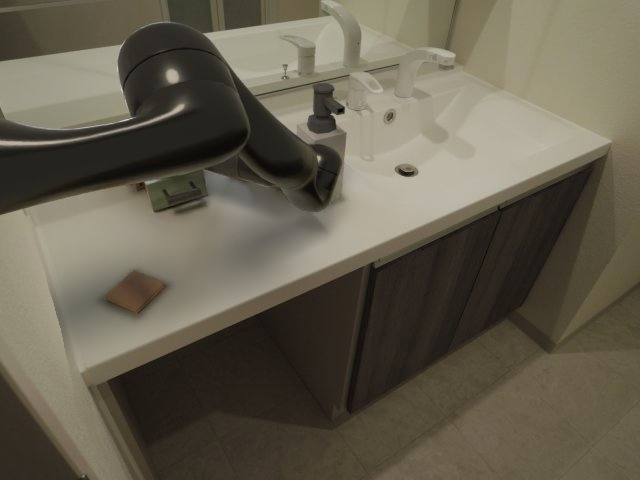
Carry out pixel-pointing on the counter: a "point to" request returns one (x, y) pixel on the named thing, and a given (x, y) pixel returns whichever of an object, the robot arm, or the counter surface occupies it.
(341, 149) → the soap dispenser
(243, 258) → the counter surface
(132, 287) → the coaster
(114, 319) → the counter surface
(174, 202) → the drawer
